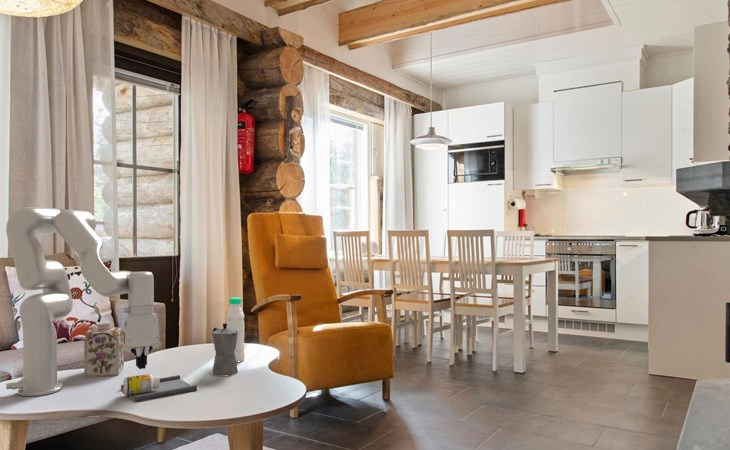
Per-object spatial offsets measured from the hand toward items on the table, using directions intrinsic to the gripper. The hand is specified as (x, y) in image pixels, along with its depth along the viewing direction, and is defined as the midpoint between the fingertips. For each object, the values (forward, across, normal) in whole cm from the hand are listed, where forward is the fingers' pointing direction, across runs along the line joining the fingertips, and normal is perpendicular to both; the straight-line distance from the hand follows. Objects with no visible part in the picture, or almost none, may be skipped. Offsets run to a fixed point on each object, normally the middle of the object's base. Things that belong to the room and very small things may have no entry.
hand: (141, 367), depth 174 cm
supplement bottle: (+5, -6, 0) cm, 7 cm away
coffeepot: (+8, +31, +8) cm, 33 cm away
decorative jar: (+8, -3, +36) cm, 37 cm away
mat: (+8, +6, 0) cm, 10 cm away
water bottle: (+8, +42, +22) cm, 48 cm away
